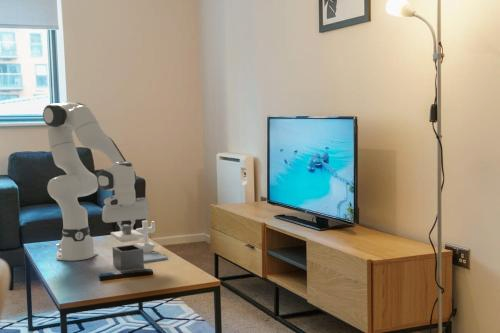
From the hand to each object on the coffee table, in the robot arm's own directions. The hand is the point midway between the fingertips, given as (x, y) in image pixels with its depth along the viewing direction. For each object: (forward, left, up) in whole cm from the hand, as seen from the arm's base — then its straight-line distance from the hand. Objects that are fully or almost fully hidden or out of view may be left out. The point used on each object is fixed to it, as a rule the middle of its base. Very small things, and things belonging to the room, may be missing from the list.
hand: (126, 230), depth 288 cm
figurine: (-23, +16, -16) cm, 32 cm away
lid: (0, 0, -4) cm, 4 cm away
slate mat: (-9, +13, -16) cm, 22 cm away
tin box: (0, 0, -16) cm, 16 cm away
